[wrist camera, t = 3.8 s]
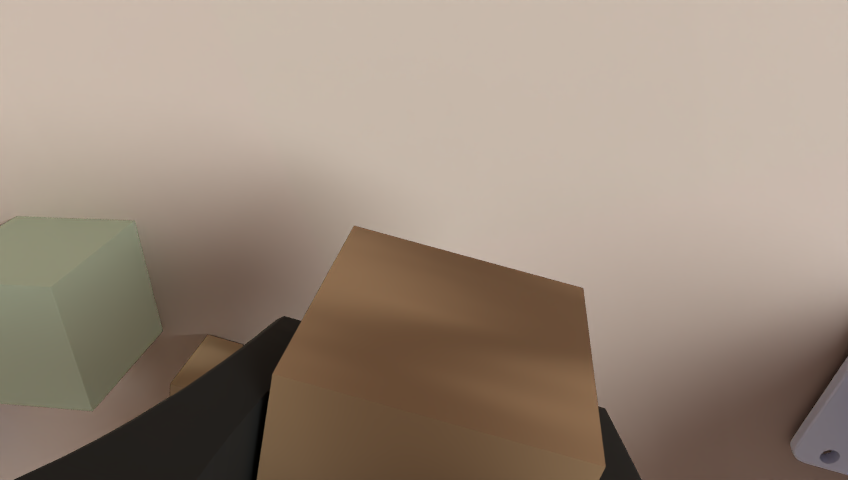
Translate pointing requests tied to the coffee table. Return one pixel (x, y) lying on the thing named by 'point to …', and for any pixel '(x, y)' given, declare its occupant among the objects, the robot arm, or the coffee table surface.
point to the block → (71, 309)
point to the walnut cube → (434, 373)
